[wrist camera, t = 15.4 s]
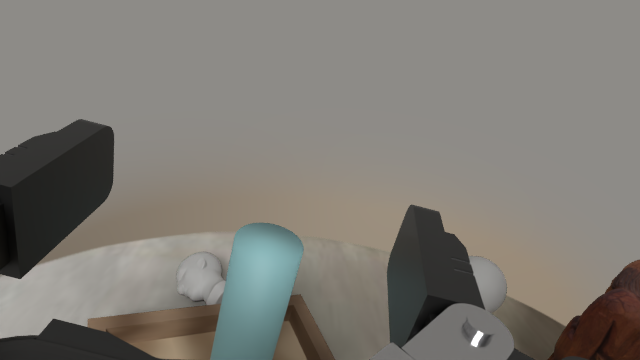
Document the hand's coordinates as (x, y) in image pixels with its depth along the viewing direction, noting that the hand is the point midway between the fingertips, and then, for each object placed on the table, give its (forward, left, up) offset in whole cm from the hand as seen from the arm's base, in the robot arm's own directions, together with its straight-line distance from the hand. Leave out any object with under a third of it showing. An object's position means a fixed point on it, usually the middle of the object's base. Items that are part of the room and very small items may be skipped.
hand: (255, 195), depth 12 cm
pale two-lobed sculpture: (-7, -25, -28) cm, 39 cm away
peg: (-5, -9, -28) cm, 30 cm away
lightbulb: (-33, -15, -28) cm, 45 cm away
